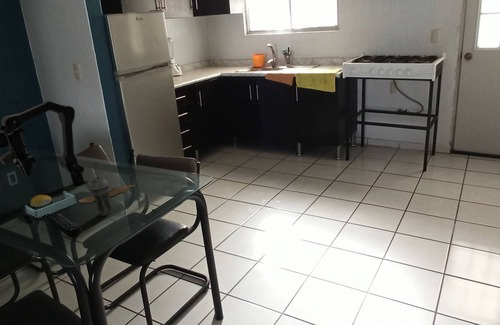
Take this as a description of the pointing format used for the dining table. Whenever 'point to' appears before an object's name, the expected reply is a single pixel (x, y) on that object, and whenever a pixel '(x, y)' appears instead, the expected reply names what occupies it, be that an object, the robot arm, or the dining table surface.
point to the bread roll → (40, 200)
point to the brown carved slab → (111, 193)
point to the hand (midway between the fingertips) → (27, 176)
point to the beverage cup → (101, 194)
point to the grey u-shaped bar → (53, 206)
